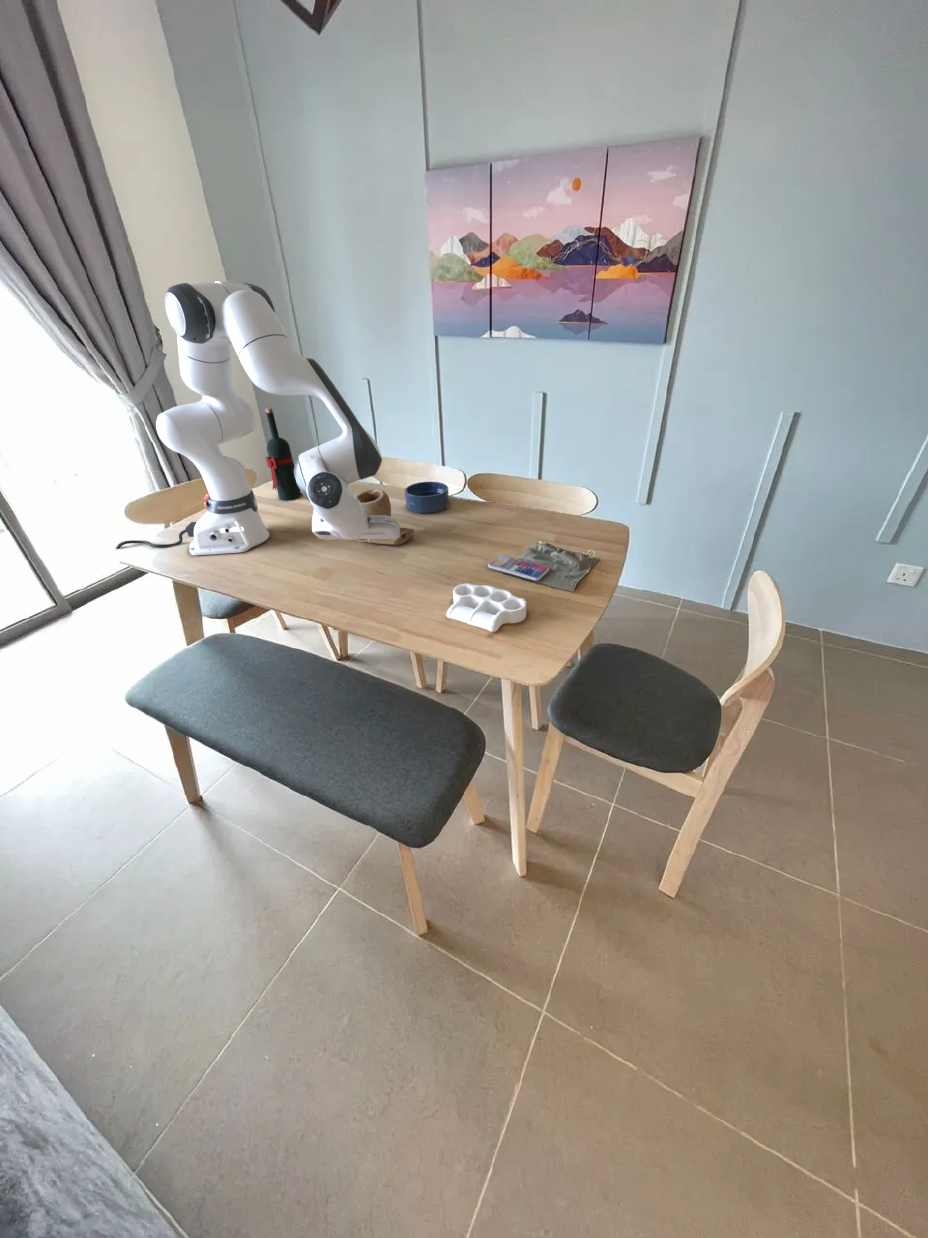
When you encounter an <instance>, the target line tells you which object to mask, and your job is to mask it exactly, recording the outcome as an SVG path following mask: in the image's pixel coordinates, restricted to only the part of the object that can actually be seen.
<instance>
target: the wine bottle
mask: <svg viewBox="0 0 928 1238" xmlns="http://www.w3.org/2000/svg"><path fill="white" fill-rule="evenodd" d="M264 411H265V415H266V418H267V422H268V426H269V430H270V434H271V438H270V439H269V440H268V442H267V444H266V453H267V456H265V461H266V465H267V467H268V469H270V473H271V480H272V490H275V491H276V492H277V495H278V500H281V501H283V502H284V501H289V502H290V501H294V500H297V499H300V498H301V497H302V492H301V490H300V488H299V486H298V484H297V482H296V479H295V476H294V466H295V462H294V459H293V455H292V450H291V446H290V443H289V442H288V441H287V440H286V439H284V438H283V437H280V435H279V431H278V427H277V423H276V419H275V415H274V414H275V413H274V411H273V407H266V408H264Z"/></svg>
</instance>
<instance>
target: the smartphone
mask: <svg viewBox="0 0 928 1238" xmlns="http://www.w3.org/2000/svg"><path fill="white" fill-rule="evenodd" d="M543 566H544V565H542V566H541V564H537V563H535V562H532V561H531V562H530V561H527V560H522V559H519V558H515V557H512V556H507V555H503V554H500V555H498V556H496V557H495V558H493V559H492V561H490V562H489V563H488V564H487V567H488V568H489V569H492V570H495V571H499V572H501V573H506V574H510V575H514V576H516V577H520V578H524V579H528V580H530V581H531V580H532V581H533V582H534V581H535V582H538V581H540V580H542V579H543V577H545V576H546V575H547V574H548V573H549V572H550V568H549V569H548V570H547V568H546V567H547V566H546V567H543ZM545 568H546V569H545ZM546 570H547V571H546Z"/></svg>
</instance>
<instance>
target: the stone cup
mask: <svg viewBox="0 0 928 1238" xmlns="http://www.w3.org/2000/svg"><path fill="white" fill-rule="evenodd" d="M355 495H356V496H357V499H358V500H359V501H360V502H361V503H362V505H363V506H364V508H365V509H366V510H367V512H368V514H369V515H386V516H391V517H392V506H391V500H390V497H389V495H388V494H387V493H386V491H385V490H382V489H378V488H376V489H373V490H372V489H367V490H364V491H361V492H359V493H357V494H355ZM414 534H415V529H414V528H408V527H407V528H406V527H402V526H400V536H399V538H398V539H371V542H369V543H370V544H379V545H390V546H392V545H394V546H396V545H398V546H399V545H402V544H405V543H406V542H407V541H408V540H409V539H411V537H413V535H414Z"/></svg>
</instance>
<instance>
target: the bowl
mask: <svg viewBox="0 0 928 1238" xmlns="http://www.w3.org/2000/svg"><path fill="white" fill-rule="evenodd" d="M404 496H405V497H404V498H405V506H406V508H407V510H409V511H411V512H415V513H422V514H430V513H437V512H439V511H442V510H445V509H447V508H448V507H449V505H450V494H449V486H448V485H447V484H445V483H443V482H440V481H420V482H416V483H412V484H410V485H408V486H407V487H406V488H405V489H404Z"/></svg>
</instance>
